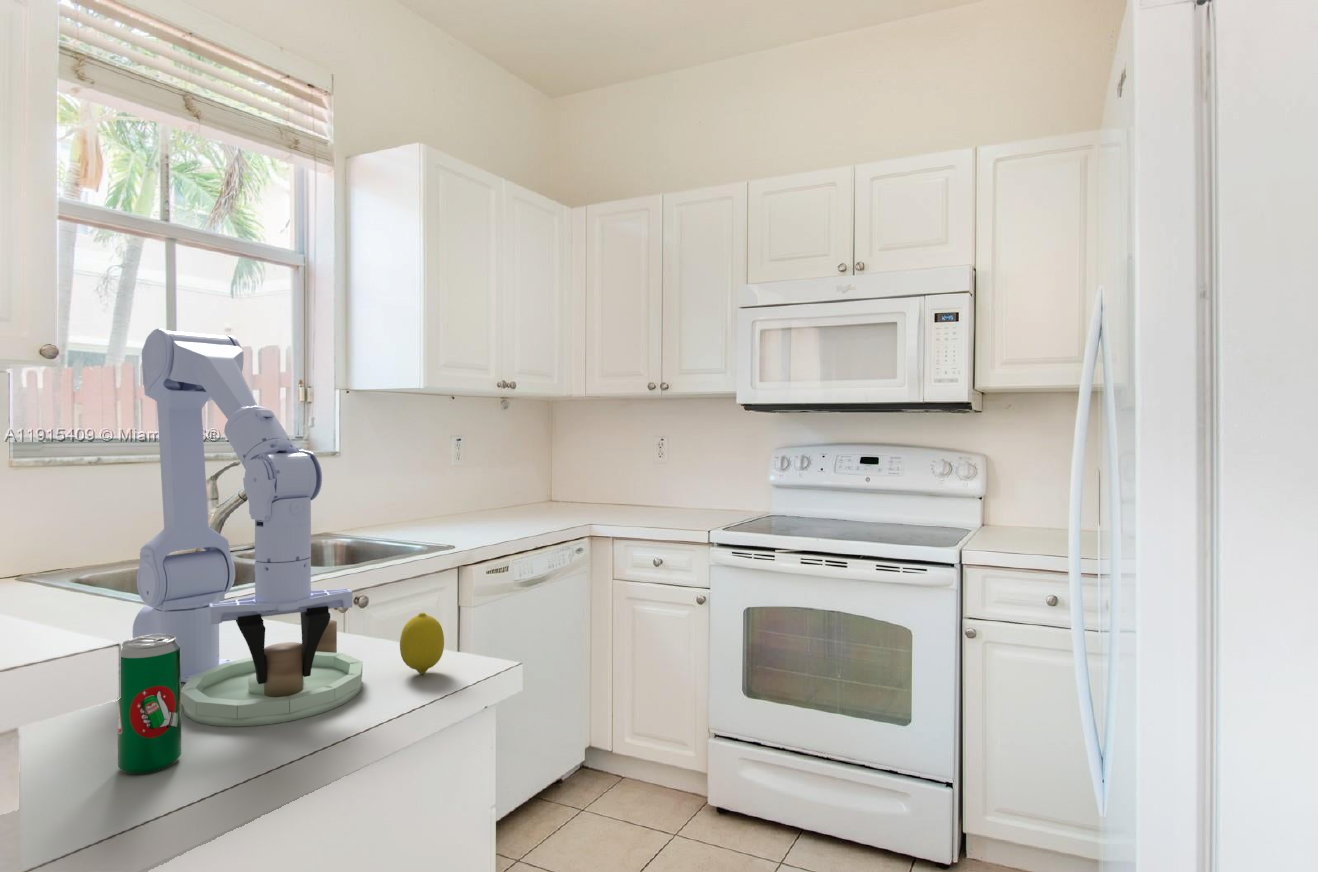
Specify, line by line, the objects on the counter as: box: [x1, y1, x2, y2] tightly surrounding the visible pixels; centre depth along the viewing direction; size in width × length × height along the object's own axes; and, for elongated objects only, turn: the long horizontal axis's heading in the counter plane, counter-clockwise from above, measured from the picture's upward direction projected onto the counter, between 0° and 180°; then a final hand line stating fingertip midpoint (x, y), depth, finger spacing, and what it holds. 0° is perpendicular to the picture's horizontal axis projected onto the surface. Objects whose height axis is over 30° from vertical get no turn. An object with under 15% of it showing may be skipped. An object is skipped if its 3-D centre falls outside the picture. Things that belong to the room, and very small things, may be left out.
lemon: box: [399, 612, 445, 675], centre depth 101 cm, size 6×6×8 cm
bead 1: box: [264, 641, 303, 697], centre depth 88 cm, size 4×4×5 cm
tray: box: [181, 651, 363, 727], centre depth 93 cm, size 19×19×2 cm
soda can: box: [117, 634, 182, 776], centre depth 74 cm, size 5×5×12 cm
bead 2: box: [316, 619, 338, 653], centre depth 106 cm, size 4×4×5 cm
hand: (283, 677), depth 88 cm, fingers closed on bead 1, 4 cm apart
